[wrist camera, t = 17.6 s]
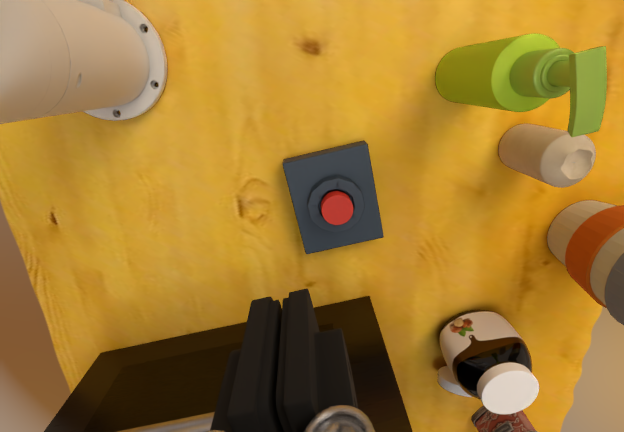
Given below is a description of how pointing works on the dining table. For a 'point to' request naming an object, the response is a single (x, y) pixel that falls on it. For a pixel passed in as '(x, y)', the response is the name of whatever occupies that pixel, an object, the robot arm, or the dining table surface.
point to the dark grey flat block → (324, 179)
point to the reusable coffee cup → (593, 250)
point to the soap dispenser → (527, 78)
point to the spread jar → (487, 362)
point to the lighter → (501, 421)
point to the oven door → (217, 379)
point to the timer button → (336, 208)
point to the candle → (547, 154)
